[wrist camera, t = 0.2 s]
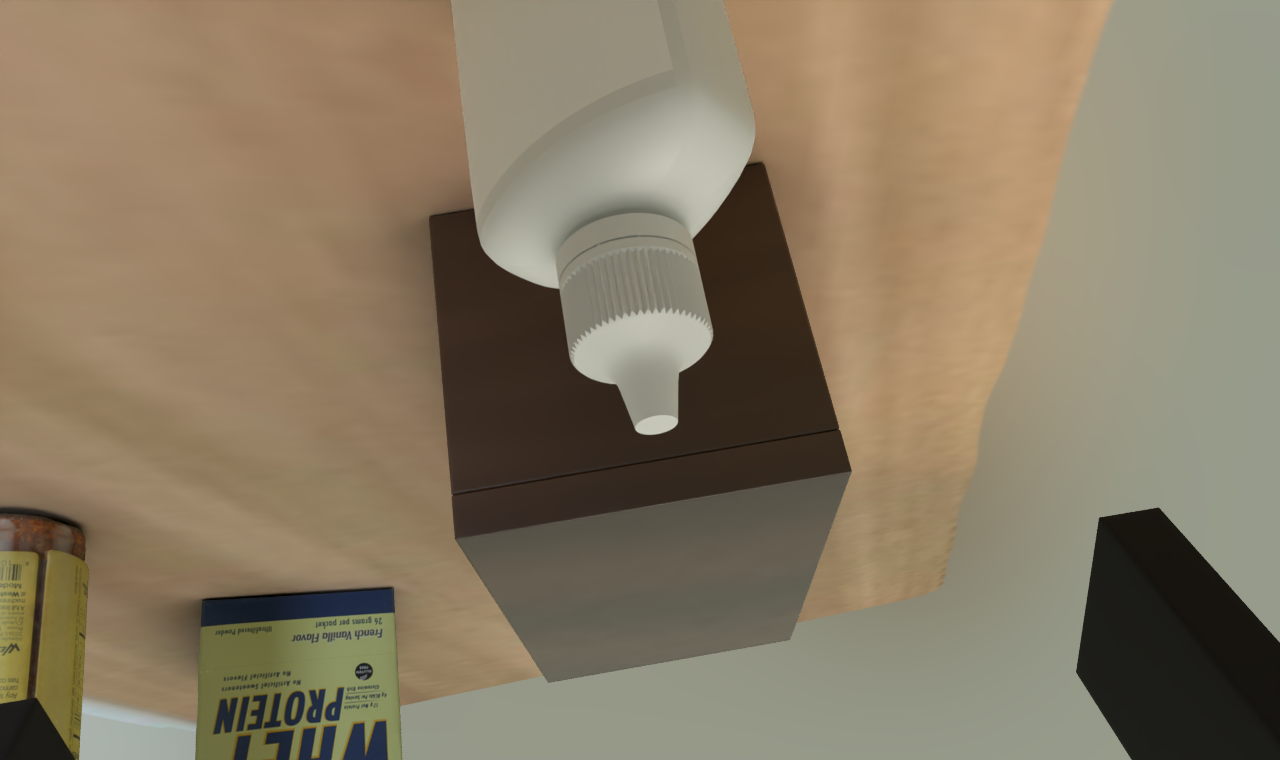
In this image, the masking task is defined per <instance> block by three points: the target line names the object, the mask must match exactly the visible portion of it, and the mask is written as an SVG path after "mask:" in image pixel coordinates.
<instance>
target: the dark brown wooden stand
mask: <svg viewBox="0 0 1280 760" xmlns="http://www.w3.org/2000/svg"><path fill="white" fill-rule="evenodd" d="M429 225H430V237H431V249H432V262H433V274H434V286H435V298H436V310H437V323H438V335H439V347H440V359H441V371H442V384H443V396H444V408H445V420H446V432H447V445H448V457H449V469H450V481H451V493H452V495H453V496H452V508H453V520H454V532H455V540H456V541H457V543H458V544H459V546H460V547H461V549H462V550H463V552H464V554H465V555H466V557H467V558H468V560H469V561H470V563H471V564H472V566H473V567H474V569H475V571H476V572H477V574H478V575H479V577H480V578H481V580H482V581H483V583H484V584H485V586H486V588H487V589H488V591H489V592H490V594H491V595H492V597H493V598H494V600H495V601H496V603H497V604H498V606H499V608H500V609H501V611H502V612H503V614H504V615H505V617H506V618H507V620H508V621H509V623H510V625H511V626H512V628H513V629H514V631H515V632H516V634H517V635H518V637H519V638H520V640H521V642H522V643H523V645H524V646H525V648H526V649H527V651H528V652H529V654H530V655H531V657H532V659H533V660H534V662H535V663H536V665H537V666H538V668H539V669H540V671H541V672H542V674H543V675H544V677H545V678H546V680H547V681H548V682H555V681H561V680H567V679H572V678H578V677H583V676H589V675H595V674H600V673H606V672H612V671H617V670H623V669H628V668H633V667H639V666H645V665H651V664H657V663H662V662H668V661H673V660H679V659H685V658H691V657H696V656H701V655H707V654H713V653H719V652H724V651H730V650H736V649H741V648H747V647H753V646H758V645H764V644H770V643H775V642H781V641H786V640H790V639H791V636H792V633H793V630H794V628H795V625H796V622H797V620H798V617H799V614H800V611H801V609H802V606H803V603H804V600H805V598H806V595H807V592H808V589H809V587H810V584H811V581H812V579H813V576H814V573H815V570H816V568H817V565H818V562H819V559H820V557H821V554H822V551H823V548H824V546H825V543H826V540H827V538H828V535H829V532H830V529H831V527H832V524H833V521H834V518H835V516H836V513H837V510H838V507H839V505H840V502H841V499H842V497H843V494H844V491H845V488H846V486H847V483H848V480H849V477H850V475H851V472H852V470H851V467H850V463H849V459H848V456H847V452H846V449H845V445H844V442H843V438H842V435H841V431H840V430H839V425H838V422H837V418H836V415H835V411H834V408H833V404H832V400H831V397H830V393H829V390H828V386H827V383H826V379H825V376H824V372H823V369H822V365H821V362H820V358H819V355H818V351H817V348H816V344H815V340H814V337H813V333H812V330H811V326H810V323H809V319H808V316H807V312H806V309H805V305H804V302H803V298H802V295H801V291H800V288H799V284H798V280H797V277H796V273H795V270H794V266H793V263H792V259H791V256H790V252H789V249H788V245H787V242H786V238H785V235H784V231H783V228H782V224H781V220H780V217H779V213H778V210H777V206H776V203H775V199H774V196H773V192H772V189H771V185H770V182H769V178H768V175H767V171H766V168H765V165H764V164H758V165H751V166H745V167H744V169H743V171H742V173H741V175H740V177H739V179H738V180H737V182H736V183H735V185H734V186H733V188H732V190H731V191H730V193H729V194H728V196H727V197H726V199H725V200H724V201H723V203H722V204H721V206H720V207H719V208H718V210H717V211H716V212H715V214H714V215H713V216H712V217H711V219H710V220H709V221H708V222H707V223H706V224H705V226H704V227H703V228H702V229H701V230H700V231H699V232H698V233H697V235H696V236H695V237H694V238H693V239H692V240H693V245H694V249H695V253H696V258H697V262H698V267H699V271H700V276H701V280H702V284H703V289H704V293H705V298H706V302H707V306H708V311H709V315H710V319H711V324H712V328H713V340H712V342H711V345H710V346H709V348H708V350H707V351H706V353H705V354H704V355H703V356H702V357H701V358H700V359H699V360H698V361H697V362H696V363H694V364H693V365H692V366H690V367H688V368H687V369H685V370H683V371H681V372H679V379H678V424H677V425H676V426H675V427H674V428H673V429H671V430H669V431H667V432H664V433H660V434H654V435H645V434H641V433H638V432H637V431H636V430H635V427H634V425H633V422H632V420H631V417H630V415H629V412H628V410H627V407H626V405H625V402H624V400H623V397H622V395H621V392H620V390H619V388H618V386H617V384H609V383H603V382H599V381H596V380H593V379H591V378H589V377H587V376H585V375H584V374H582V373H581V372H579V371H578V370H577V369H576V368H575V367H574V366H573V364H572V362H571V360H570V356H569V350H568V343H567V336H566V330H565V323H564V316H563V309H562V303H561V296H560V289H557V288H550V287H545V286H542V285H539V284H536V283H533V282H530V281H528V280H525V279H523V278H521V277H518V276H516V275H514V274H512V273H510V272H508V271H507V270H505V269H503V268H502V267H500V266H499V265H497V264H496V263H495V262H494V261H493V260H492V259H491V258H490V257H489V256H488V255H487V254H486V253H485V252H484V250H483V248H482V246H481V243H480V240H479V236H478V232H477V225H476V218H475V211H474V210H471V211H465V212H459V213H453V214H446V215H440V216H434V217H430V219H429Z"/></svg>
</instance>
